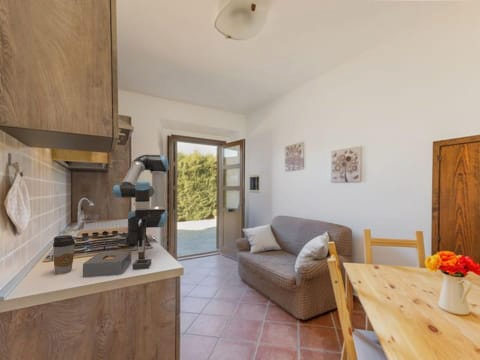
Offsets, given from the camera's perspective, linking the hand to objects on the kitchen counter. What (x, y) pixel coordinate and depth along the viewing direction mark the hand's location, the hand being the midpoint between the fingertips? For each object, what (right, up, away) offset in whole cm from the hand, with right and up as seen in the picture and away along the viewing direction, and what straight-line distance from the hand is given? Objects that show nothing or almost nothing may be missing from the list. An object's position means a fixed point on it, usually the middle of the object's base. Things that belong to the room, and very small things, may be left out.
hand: (141, 251), depth 123 cm
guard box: (-9, -4, -15) cm, 18 cm away
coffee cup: (-29, -4, -19) cm, 35 cm away
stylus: (0, -5, 0) cm, 5 cm away
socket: (+5, -4, -11) cm, 13 cm away
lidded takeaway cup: (-45, -5, +1) cm, 46 cm away
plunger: (-9, -2, -15) cm, 18 cm away
